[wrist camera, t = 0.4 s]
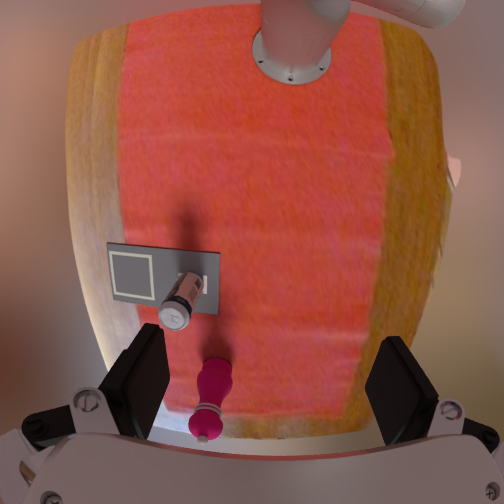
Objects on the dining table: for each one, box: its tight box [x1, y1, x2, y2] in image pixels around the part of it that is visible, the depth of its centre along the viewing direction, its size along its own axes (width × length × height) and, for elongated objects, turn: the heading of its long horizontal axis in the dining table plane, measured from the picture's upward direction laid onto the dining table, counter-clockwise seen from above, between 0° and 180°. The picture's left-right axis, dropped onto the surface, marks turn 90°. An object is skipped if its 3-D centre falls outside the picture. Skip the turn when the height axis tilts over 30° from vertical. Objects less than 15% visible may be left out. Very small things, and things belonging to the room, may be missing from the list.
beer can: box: [158, 272, 204, 330], centre depth 42 cm, size 5×5×12 cm
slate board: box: [107, 243, 220, 315], centre depth 48 cm, size 12×22×1 cm, turn 86°
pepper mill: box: [188, 358, 233, 445], centre depth 45 cm, size 7×7×20 cm
